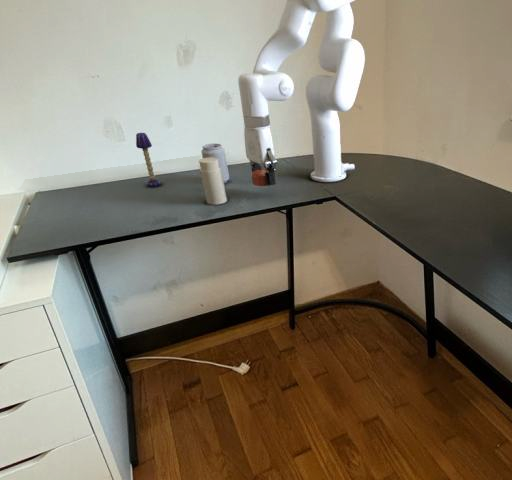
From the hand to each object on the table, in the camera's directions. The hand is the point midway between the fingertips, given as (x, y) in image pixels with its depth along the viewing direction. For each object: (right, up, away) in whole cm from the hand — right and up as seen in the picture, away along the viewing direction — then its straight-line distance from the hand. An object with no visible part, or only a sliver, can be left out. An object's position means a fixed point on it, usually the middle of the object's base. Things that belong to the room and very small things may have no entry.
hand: (264, 181), depth 149 cm
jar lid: (0, +2, -1) cm, 2 cm away
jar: (-15, -7, -2) cm, 16 cm away
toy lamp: (-40, +2, +11) cm, 42 cm away
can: (-19, +5, +14) cm, 24 cm away
